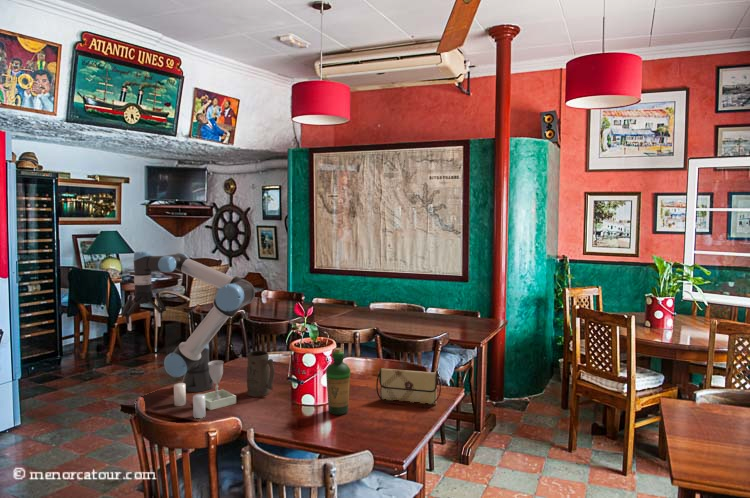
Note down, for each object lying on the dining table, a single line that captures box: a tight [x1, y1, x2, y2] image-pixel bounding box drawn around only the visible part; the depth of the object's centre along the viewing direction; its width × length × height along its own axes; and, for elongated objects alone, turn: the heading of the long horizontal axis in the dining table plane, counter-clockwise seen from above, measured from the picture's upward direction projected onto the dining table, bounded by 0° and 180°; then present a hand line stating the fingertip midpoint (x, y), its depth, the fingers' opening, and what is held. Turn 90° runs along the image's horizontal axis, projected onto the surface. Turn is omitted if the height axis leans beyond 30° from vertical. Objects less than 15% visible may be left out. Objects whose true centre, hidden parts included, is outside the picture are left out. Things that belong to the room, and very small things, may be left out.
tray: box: [204, 388, 237, 411], centre depth 250 cm, size 13×13×4 cm
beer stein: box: [246, 350, 275, 398], centre depth 262 cm, size 15×11×20 cm
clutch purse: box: [375, 367, 442, 408], centre depth 249 cm, size 30×7×15 cm, turn 75°
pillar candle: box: [192, 393, 207, 419], centre depth 234 cm, size 5×5×9 cm
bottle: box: [325, 347, 351, 416], centre depth 238 cm, size 11×11×28 cm
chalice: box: [208, 359, 225, 401], centre depth 249 cm, size 7×7×18 cm
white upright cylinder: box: [173, 382, 187, 407], centre depth 248 cm, size 5×5×9 cm
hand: (144, 328), depth 261 cm, fingers open, 13 cm apart
